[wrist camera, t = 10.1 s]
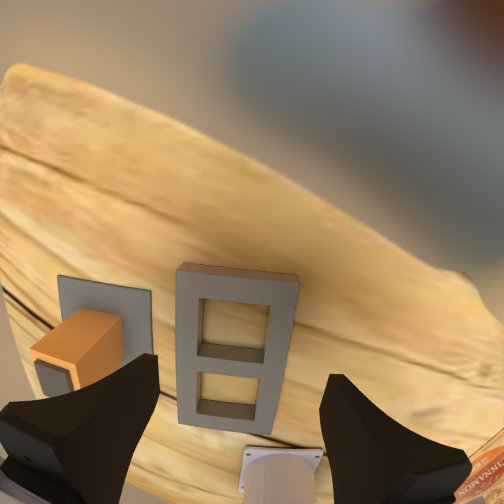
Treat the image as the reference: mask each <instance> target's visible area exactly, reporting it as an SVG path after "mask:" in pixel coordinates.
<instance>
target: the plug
mask: <svg viewBox="0 0 504 504" xmlns="http://www.w3.org/2000/svg"><path fill="white" fill-rule="evenodd" d="M29 349H30V353H31V356H32V360H33V364H34V367H35V371H36V374H37V377H38V380H39V384H40V387H41V390H42V393H43V395H46V396H48V397H55V396H59V395H63V394H66V393H69V392H73V391H76V390H78V389H81V388H83V387H86V386H88V385H90V384H93V383H95V382H97V381H99V380H100V379H102V378H104V377H106V376H108V375H110V374H112V373H113V372H115V371H116V370H117V369H118V367H119V366H120V365H121V363H122V362H123V360H124V359H125V358H126V355H125V345H124V335H123V323H122V316H120V315H115V314H110V313H105V312H100V311H95V310H91V309H86V308H80V309H79V310H78V311H76V312H75V313H74V314H72V315H71V316H70V317H69V318H67V319H66V320H65V321H63V322H62V323H61V324H60V325H58V326H57V327H56V328H54V329H53V330H52V331H51V332H49V333H48V334H47V335H46V336H44V337H43V338H42V339H41V340H39V341H38V342H37V343H36V344H34V345H33V346H32V347H31V348H29Z"/></svg>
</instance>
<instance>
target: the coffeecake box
mask: <svg viewBox="0 0 504 504" xmlns="http://www.w3.org/2000/svg"><path fill="white" fill-rule="evenodd" d="M469 460H470V462H471V463H472V467H473V468H472V471H471V473H470V475H469V477H468V478H467V479H466V481H465V482H464V483H463V484H462V485H461V486H460V487H459V489H458V490H457V491H456V492H455V493H454V495H455V498H456V501H455V502H454V503H453V504H464V503H466V502H469V501H471V500H473V499H476V498H478V497H480V496H483V498H484V499H485V501H486V503H487V504H504V429H503V430H501V431H500V432H499V433H498V434H497V435H496V436H495V437H494V438H493V439H491V440H490V441H489V442H488V443H487V444H486V445H484V446H483V447H482V448H481V449H479V450H478V451H477V452H476V453H475V454H473V455H472V456H471V457H469Z"/></svg>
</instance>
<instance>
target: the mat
mask: <svg viewBox="0 0 504 504" xmlns="http://www.w3.org/2000/svg"><path fill="white" fill-rule="evenodd" d="M57 282H58V292H59V300H60V308H61V315H62V322H63V321H65V320H66V319H67V318H69V317H70V316H71V315H72V314H74V313H75V312H76V311H78V310H79V309H80V308H86V309H91V310H95V311H100V312H105V313H110V314H115V315H120V316H122V323H123V335H124V345H125V355H126V358H125V359H124V360H123V362H122V363H121V365H120V366H119V367H118V369H120V368H121V367H123V366H125V365H126V364H128V363H129V362H131V361H132V360H134V359H135V358H137V357H138V356H140V355H142V354H143V353H147V354H152V355H153V340H152V313H151V291H149V290H142V289H136V288H130V287H123V286H117V285H111V284H105V283H100V282H94V281H88V280H83V279H77V278H72V277H67V276H62V275H58V276H57ZM118 369H117V370H118ZM117 370H116V371H117Z"/></svg>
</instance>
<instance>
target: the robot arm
mask: <svg viewBox="0 0 504 504" xmlns="http://www.w3.org/2000/svg"><path fill="white" fill-rule="evenodd" d="M159 394H160V384H159V370H158V356H157V355H152V354H147V353H143V354H142V355H140V356H138V357H137V358H135V359H134V360H132V361H131V362H129V363H128V364H126V365H125V366H123V367H121V368H120V369H118V370H117V371H115V372H113V373H112V374H110V375H108V376H106V377H104V378H102V379H100V380H99V381H97V382H95V383H93V384H90V385H88V386H86V387H83V388H81V389H78V390H76V391H73V392H69V393H66V394H63V395H59V396H55V397H51V398H46V399H40V400H32V401H18V402H9V403H8V404H7V405H6V406H5V407H4V408H3V409H2V410H1V411H0V442H1V444H2V446H3V448H4V449H5V451H6V453H7V454H8V457H7V458H6V460H4V459H3V458H2V457H1V456H0V504H119V500H120V496H121V492H122V488H123V485H124V481H125V478H126V475H127V471H128V468H129V465H130V462H131V459H132V456H133V453H134V451H135V449H136V446H137V444H138V442H139V440H140V438H141V436H142V434H143V432H144V430H145V428H146V426H147V424H148V422H149V420H150V418H151V416H152V414H153V412H154V409H155V407H156V404H157V400H158V397H159ZM319 413H320V424H321V431H322V435H323V439H324V443H325V447H326V451H327V455H328V460H329V464H330V468H331V473H332V481H333V491H334V504H453V503H454V502H455V501H456V498H455V495H454V493H455V492H456V491H457V490H458V489H459V487H460V486H461V485H462V484H463V483H464V482H465V481H466V479H467V478H468V477H469V475H470V473H471V471H472V468H473V467H472V463H471V462H470V460H469V458H468V457H467V455H466V453H465V452H464V450H461V449H457V448H453V447H450V446H446V445H443V444H440V443H437V442H435V441H432V440H429V439H427V438H425V437H423V436H421V435H419V434H417V433H415V432H413V431H411V430H409V429H407V428H406V427H404V426H402V425H401V424H399V423H398V422H396V421H395V420H393V419H392V418H391V417H389V416H388V415H387V414H385V413H384V412H383V411H382V410H380V409H379V408H378V407H377V406H376V405H375V404H373V403H372V402H371V401H370V400H369V399H368V398H367V397H366V396H365V395H364V394H363V393H362V392H361V391H360V390H359V389H358V388H357V387H356V386H355V385H354V384H353V383H352V382H351V381H350V380H349V379H348V378H347V377H346V376H345V375H344V374H329V378H328V381H327V385H326V388H325V392H324V395H323V398H322V402H321V405H320V408H319ZM322 456H323V450H322V449H281V448H262V447H245V448H244V453H243V460H242V467H241V473H240V479H239V486H238V492H240V493H243V504H318V503H317V496H316V489H315V482H314V474H315V471H316V469H317V467H318V465H319V462H320V460H321V458H322ZM464 504H487V503H486V501H485V499H484V498H483V496H480V497H478V498H476V499H473V500H471V501H469V502H466V503H464Z"/></svg>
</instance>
